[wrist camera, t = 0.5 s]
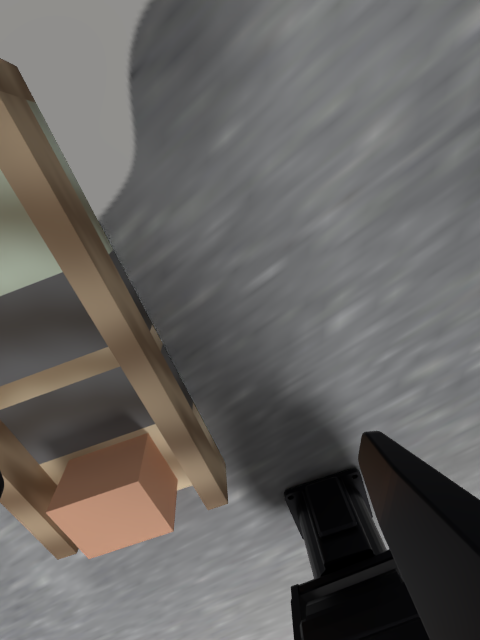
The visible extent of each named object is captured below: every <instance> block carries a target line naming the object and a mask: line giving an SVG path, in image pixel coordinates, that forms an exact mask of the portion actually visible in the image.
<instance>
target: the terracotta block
mask: <svg viewBox="0 0 480 640" xmlns="http://www.w3.org/2000/svg"><path fill="white" fill-rule="evenodd" d="M177 484H178V479H177V478H176V476H175V475H174V473H173V471H172V470H171V468H170V467H169V465H168V464H167V462H166V460H165V459H164V457H163V456H162V454H161V452H160V451H159V449H158V448H157V446H156V444H155V443H154V441H153V440H152V438H151V437H150V435H149V433H146V434H143V435H140V436H138V437H135V438H132V439H129V440H126V441H123V442H120V443H117V444H115V445H112V446H109V447H106V448H103V449H100V450H97V451H94V452H92V453H89V454H86V455H83V456H80V457H77V458H74V459H71V460H69V462H68V464H67V466H66V468H65V471H64V473H63V475H62V477H61V479H60V482H59V484H58V486H57V488H56V491H55V493H54V495H53V497H52V499H51V502H50V504H49V506H48V508H47V510H46V514H47V515H48V516H49V517H50V518H51V519H52V520H53V521H54V522H55V523H56V524H57V525H58V527H59V528H60V529H61V530H62V531H63V532H64V533H65V534H66V535H67V536H68V537H69V538H70V539H71V540H72V542H73V543H74V544H75V545H76V546H77V547H78V548H79V549H80V550H81V551H82V552H83V553H84V554H85V555H86V557H87V558H88V559H91V558H94V557H97V556H100V555H103V554H106V553H109V552H112V551H115V550H118V549H121V548H124V547H127V546H130V545H133V544H136V543H139V542H143V541H146V540H149V539H152V538H155V537H158V536H161V535H164V534H167V533H170V532H173V531H174V519H175V507H176V495H177Z"/></svg>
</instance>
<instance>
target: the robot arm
mask: <svg viewBox="0 0 480 640" xmlns="http://www.w3.org/2000/svg"><path fill="white" fill-rule="evenodd" d="M358 461H359V466H360V469H361V472H362V475H363V478H364V481H365V484H366V487H367V490H368V493H369V496H370V499H371V502H372V505H373V508H374V511H375V514H376V517H377V520H378V523H379V526H380V528H381V530H382V533H383V535H384V537H385V540H386V542H387V544H388V546H389V550H387V549H386V547H385V545H384V543H383V541H382V538H381V536H380V534H379V532H378V530H377V528H376V526H375V523H374V521H373V519H372V517H373V516H372V512H371V509H370V505H369V502H368V498H367V495H366V491H365V488H364V484H363V481H362V477H361V474H360V472H359V470H358V469H356V468H353V469H349V470H346V471H343V472H340V473H337V474H334V475H331V476H328V477H325V478H322V479H319V480H316V481H313V482H310V483H307V484H304V485H301V486H298V487H295V488H292V489H288V490H286V491H285V492H284V497H285V500H286V503H287V505H288V507H289V509H290V512H291V514H292V516H293V518H294V521H295V523H296V525H297V527H298V529H299V532H300V534H301V536H302V538H303V539H304V541H305V545H306V549H307V553H308V557H309V561H310V564H311V568H312V572H313V576H314V579H313V580H311V581H308V582H305V583H303V584H300V585H298V584H296V585H294V586H291V595H292V599H291V608H292V620H293V632H294V640H480V500H479V499H478V498H476V497H475V496H473V495H472V494H470V493H469V492H467V491H466V490H465V489H463V488H462V487H460V486H459V485H457V484H456V483H454V482H453V481H451V480H450V479H449V478H447V477H446V476H444V475H443V474H441V473H440V472H438V471H437V470H436V469H434V468H433V467H431V466H430V465H428V464H427V463H425V462H424V461H422V460H421V459H420V458H418V457H417V456H415V455H414V454H412V453H411V452H409V451H408V450H406V449H405V448H404V447H402V446H401V445H399V444H398V443H396V442H395V441H393V440H392V439H390V438H389V437H388V436H386V435H385V434H383V433H382V432H380V431H369V432H364V433H363V434H362V437H361V443H360V449H359V455H358ZM3 490H4V479H3V476H2V473H1V471H0V498H1V496H2V493H3Z"/></svg>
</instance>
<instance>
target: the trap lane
mask: <svg viewBox="0 0 480 640" xmlns="http://www.w3.org/2000/svg"><path fill="white" fill-rule="evenodd" d="M146 433H149V435H150V437H151V438H152V440H153V441H154V443H155V444H156V446H157V448H158V449H159V451H160V452H161V454H162V456H163V457H164V459H165V460H166V462H167V464H168V465H169V467H170V468H171V470H172V471H173V473H174V475H175V476H176V478H177V479H178V484H177V490H180V489H183V488H186V487H189V486H192V485H193V487H194V488H195V490H196V491H197V493H198V495H199V496H200V498H201V500H202V501H203V503H204V505H205V506H206V508H207V510H210V509H213V508H216V507H219V506H222V505H225V504H228V494H227V479H226V464H225V462H224V460H223V458H222V456H221V454H220V452H219V450H218V448H217V447H216V445H215V443H214V441H213V439H212V437H211V435H210V433H209V431H208V429H207V428H206V426H205V424H204V422H203V420H202V418H201V416H200V414H199V412H198V410H197V409H196V407H195V405H194V403H193V401H192V399H191V397H190V395H189V393H188V391H187V389H186V388H185V386H184V384H183V382H182V380H181V378H180V376H179V374H178V372H177V370H176V369H175V367H174V365H173V363H172V361H171V359H170V357H169V355H168V353H167V351H166V350H165V348H164V346H163V344H162V342H161V340H160V338H159V336H158V334H157V332H156V330H155V329H154V327H153V325H152V323H151V321H150V319H149V317H148V315H147V313H146V311H145V310H144V308H143V306H142V304H141V302H140V300H139V298H138V296H137V294H136V292H135V291H134V289H133V287H132V285H131V283H130V281H129V279H128V277H127V275H126V273H125V271H124V270H123V268H122V266H121V264H120V262H119V260H118V258H117V256H116V254H115V252H114V251H113V249H112V247H111V245H110V243H109V241H108V239H107V237H106V235H105V233H104V232H103V230H102V228H101V226H100V224H99V222H98V220H97V218H96V216H95V214H94V213H93V211H92V209H91V207H90V205H89V203H88V201H87V200H86V197H85V195H84V193H83V192H82V190H81V188H80V186H79V184H78V182H77V180H76V178H75V177H74V175H73V173H72V171H71V169H70V167H69V165H68V163H67V161H66V159H65V157H64V155H63V154H62V152H61V150H60V148H59V146H58V144H57V142H56V140H55V138H54V136H53V135H52V133H51V131H50V129H49V127H48V125H47V123H46V121H45V119H44V117H43V115H42V114H41V112H40V110H39V108H38V106H37V104H36V102H35V100H34V98H33V96H32V95H31V93H30V91H29V89H28V87H27V85H26V83H25V81H24V80H23V77H22V76H21V74H20V72H19V70H18V68H17V67H16V66H15V65H13V64H11V63H9V62H7V61H4V60H3V59H1V58H0V471H1V473H2V476H3V479H4V490H3V493H2V496H1V498H0V503H1V504H2V505H3V506H4V507H5V508H6V509H7V510H8V511H9V512H10V513H11V514H12V515H13V516H14V517H15V518H16V519H17V520H18V521H19V522H20V523H21V524H22V525H23V526H24V527H25V528H26V529H27V530H29V531H30V532H31V533H32V534H33V535H34V536H35V537H36V538H37V539H38V540H39V541H40V542H41V543H42V544H43V545H44V546H45V547H46V548H47V549H48V550H49V551H50V552H51V553H52V554H53V555H54V556H55V557H56V558H57V559H61V558H64V557H67V556H70V555H73V554H76V553H77V551H78V547H77V546H76V545H75V544H74V543H73V542H72V540H71V539H70V538H69V537H68V536H67V535H66V534H65V533H64V532H63V531H62V530H61V529H60V528H59V527H58V525H57V524H56V523H55V522H54V521H53V520H52V519H51V518H50V517H49V516H48V515H47V514H46V510H47V508H48V506H49V504H50V502H51V499H52V497H53V495H54V493H55V491H56V488H57V486H58V484H59V482H60V479H61V477H62V475H63V473H64V471H65V468H66V466H67V464H68V462H69V460H71V459H74V458H77V457H80V456H83V455H86V454H89V453H92V452H94V451H97V450H100V449H103V448H106V447H109V446H112V445H115V444H117V443H120V442H123V441H126V440H129V439H132V438H135V437H138V436H140V435H143V434H146Z"/></svg>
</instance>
